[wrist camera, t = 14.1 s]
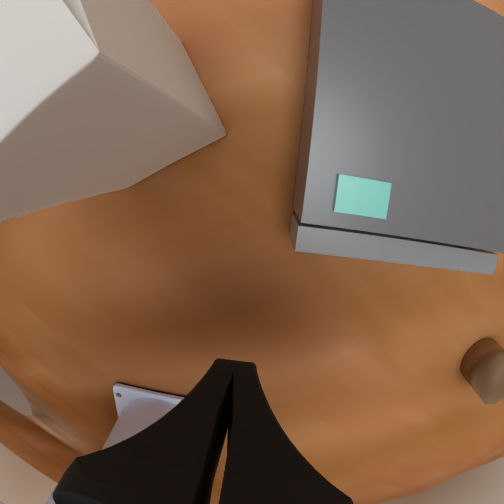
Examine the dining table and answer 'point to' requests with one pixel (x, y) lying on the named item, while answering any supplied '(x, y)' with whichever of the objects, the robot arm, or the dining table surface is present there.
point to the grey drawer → (388, 248)
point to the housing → (405, 121)
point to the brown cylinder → (485, 370)
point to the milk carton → (92, 100)
